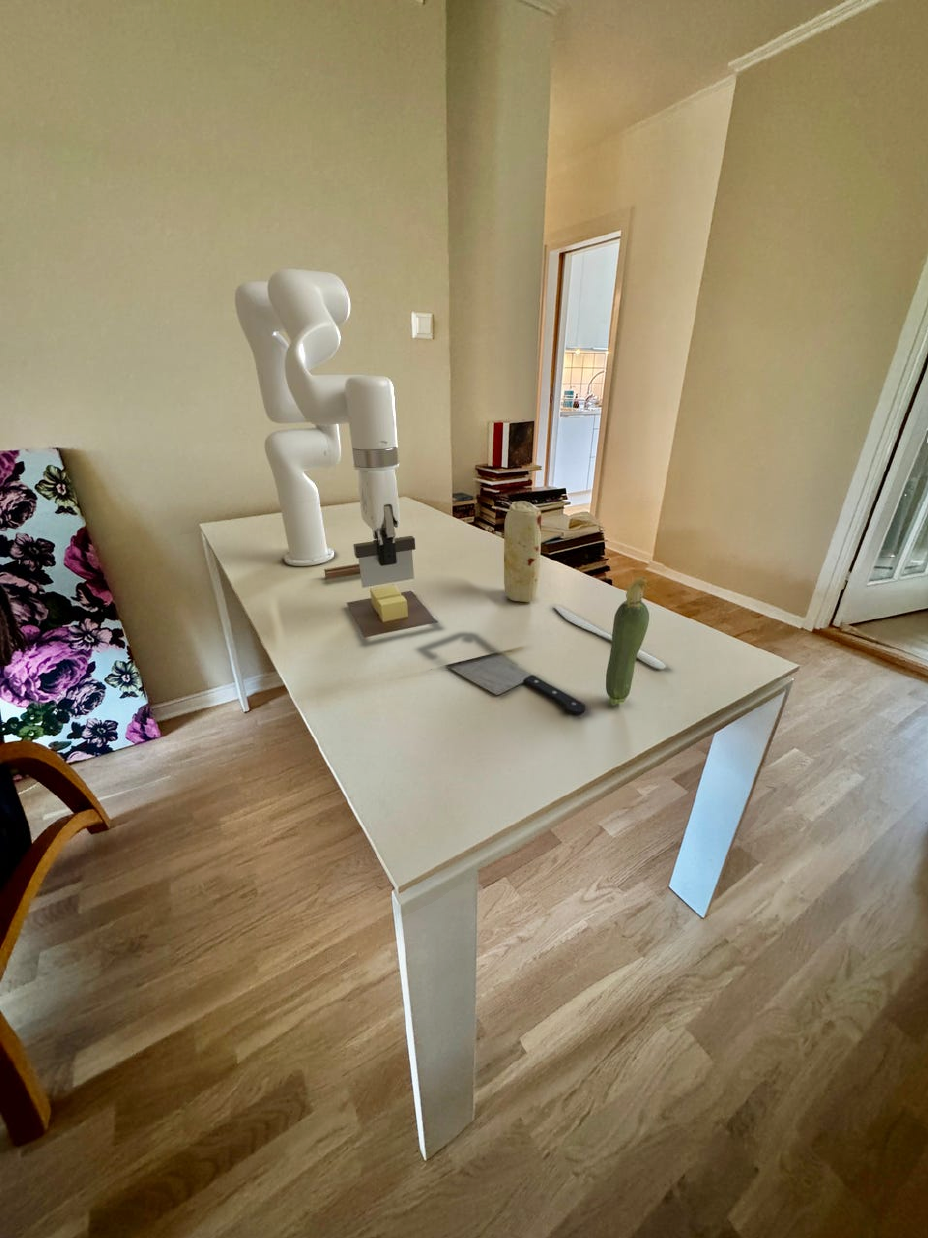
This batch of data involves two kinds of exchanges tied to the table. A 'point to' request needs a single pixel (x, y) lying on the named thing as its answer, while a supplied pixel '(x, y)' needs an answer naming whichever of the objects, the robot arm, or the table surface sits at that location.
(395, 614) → the butter pat
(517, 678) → the cleaver
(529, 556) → the food model
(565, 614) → the butter knife
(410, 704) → the table surface
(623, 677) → the vegetable
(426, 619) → the board
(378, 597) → the butter stick
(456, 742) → the table surface
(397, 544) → the cutter
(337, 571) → the holder
